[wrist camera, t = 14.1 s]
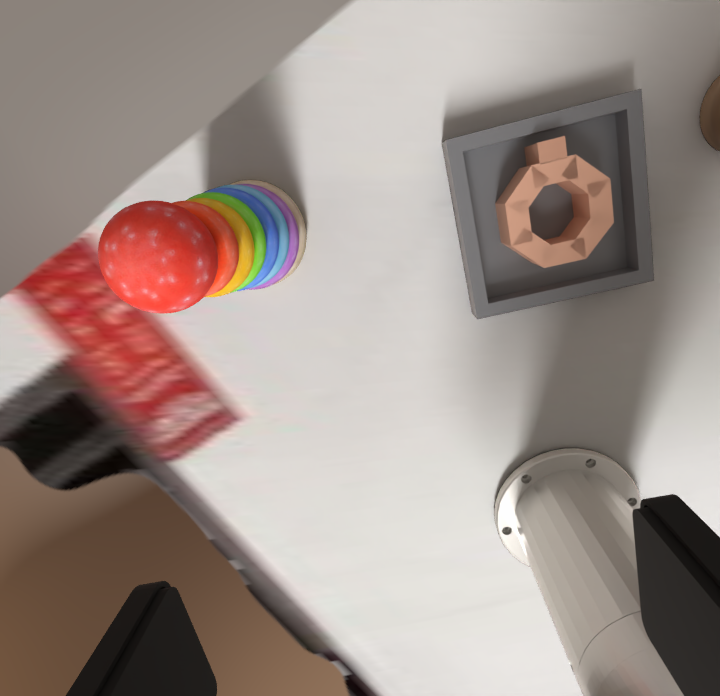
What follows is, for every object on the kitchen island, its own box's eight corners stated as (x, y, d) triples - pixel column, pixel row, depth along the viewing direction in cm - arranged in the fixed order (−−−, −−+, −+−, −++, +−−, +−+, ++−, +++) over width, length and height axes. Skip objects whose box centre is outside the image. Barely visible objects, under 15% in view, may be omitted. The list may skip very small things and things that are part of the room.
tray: (625, 95, 34) (641, 88, 31) (638, 275, 37) (654, 280, 35) (441, 143, 35) (445, 140, 33) (471, 312, 39) (477, 319, 36)
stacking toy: (268, 158, 36) (155, 117, 18) (327, 249, 38) (279, 294, 20) (186, 218, 37) (8, 234, 19) (248, 303, 39) (136, 389, 21)
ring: (586, 131, 34) (605, 125, 31) (597, 247, 36) (616, 251, 33) (488, 156, 35) (497, 152, 32) (504, 268, 37) (515, 274, 34)
